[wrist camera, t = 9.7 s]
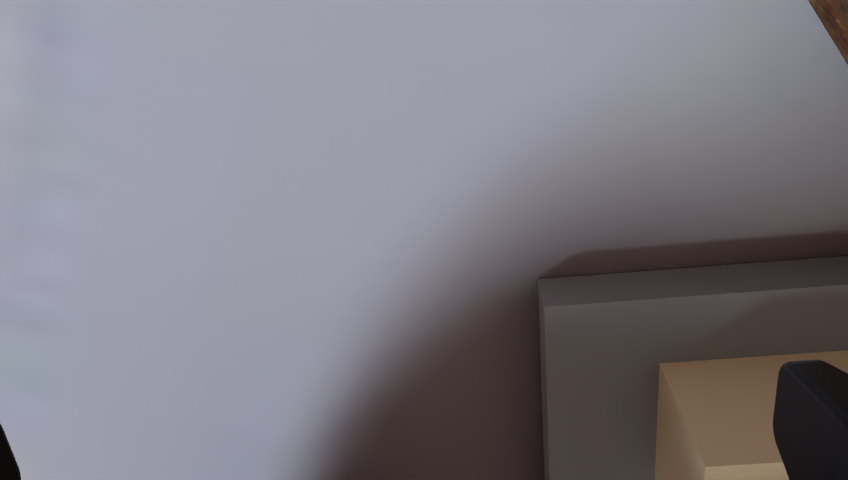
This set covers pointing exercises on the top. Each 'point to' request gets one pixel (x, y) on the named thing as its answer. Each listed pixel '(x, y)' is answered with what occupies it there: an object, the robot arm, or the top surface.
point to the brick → (834, 21)
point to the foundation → (680, 366)
